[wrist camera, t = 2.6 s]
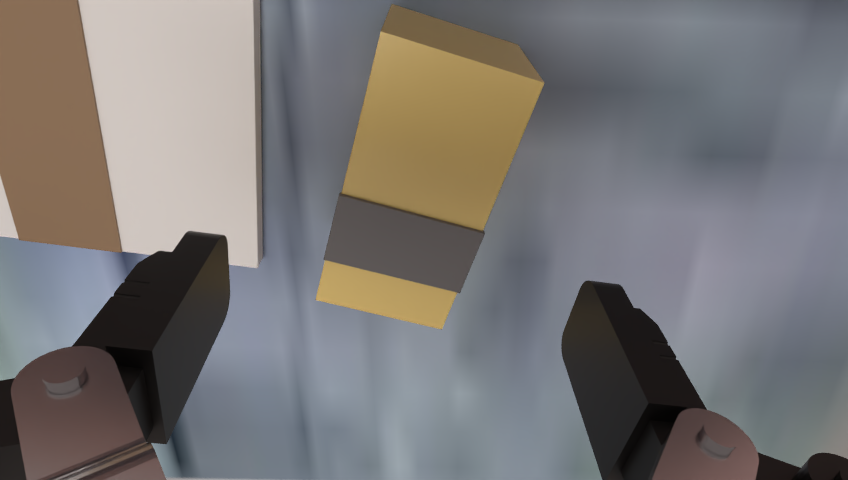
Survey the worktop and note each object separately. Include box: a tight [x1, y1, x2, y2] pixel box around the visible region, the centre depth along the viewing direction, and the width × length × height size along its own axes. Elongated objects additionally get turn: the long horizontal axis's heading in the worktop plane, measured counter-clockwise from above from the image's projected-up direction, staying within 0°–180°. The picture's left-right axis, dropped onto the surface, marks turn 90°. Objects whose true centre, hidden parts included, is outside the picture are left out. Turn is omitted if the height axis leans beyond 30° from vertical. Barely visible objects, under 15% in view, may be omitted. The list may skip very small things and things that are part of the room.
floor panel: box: [0, 0, 263, 268], centre depth 19 cm, size 13×12×1 cm
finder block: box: [316, 4, 544, 329], centre depth 18 cm, size 5×9×5 cm, turn 163°
